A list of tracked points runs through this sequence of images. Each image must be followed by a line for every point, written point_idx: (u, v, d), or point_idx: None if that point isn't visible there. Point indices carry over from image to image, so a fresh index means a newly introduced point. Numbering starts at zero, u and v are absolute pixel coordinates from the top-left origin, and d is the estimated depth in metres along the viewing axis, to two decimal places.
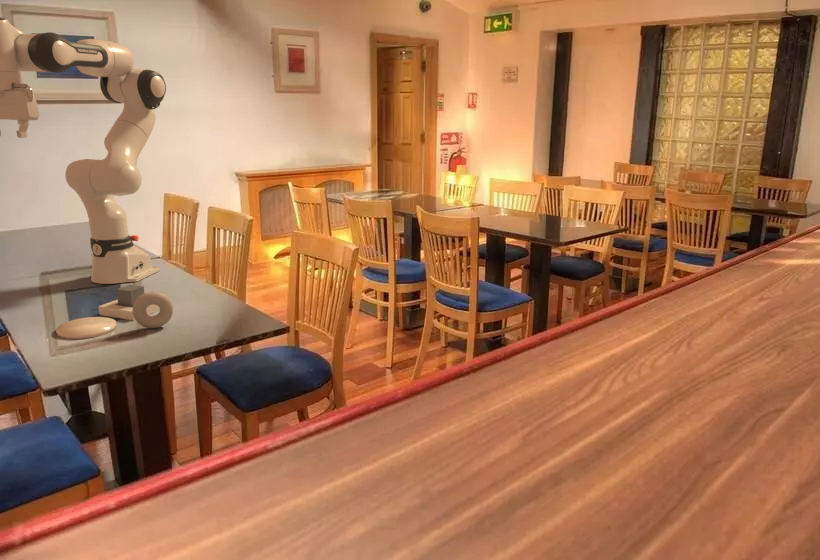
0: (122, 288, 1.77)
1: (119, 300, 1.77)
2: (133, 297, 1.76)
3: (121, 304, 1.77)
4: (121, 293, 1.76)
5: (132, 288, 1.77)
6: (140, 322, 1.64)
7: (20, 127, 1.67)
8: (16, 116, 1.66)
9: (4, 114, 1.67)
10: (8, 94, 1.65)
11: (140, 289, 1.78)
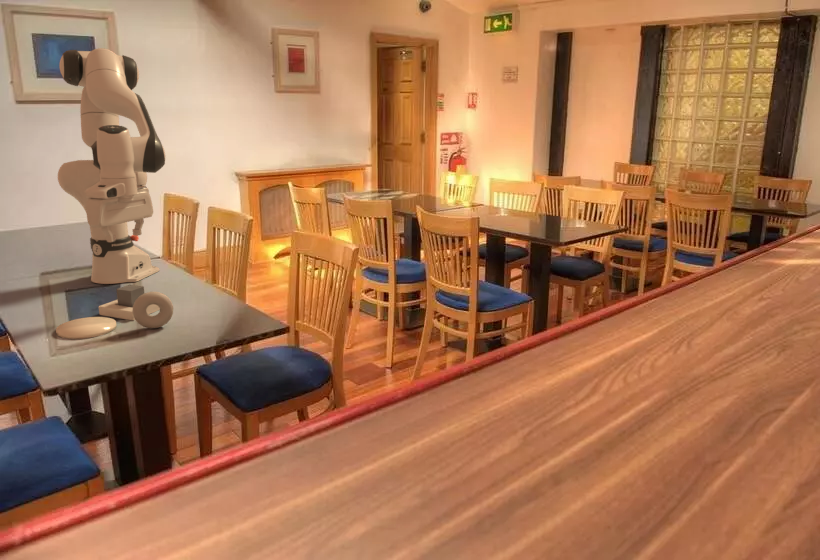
0: (122, 288, 1.77)
1: (119, 300, 1.77)
2: (133, 297, 1.76)
3: (121, 304, 1.77)
4: (121, 293, 1.76)
5: (132, 288, 1.77)
6: (140, 322, 1.64)
7: (141, 225, 1.78)
8: (143, 215, 1.77)
9: (132, 216, 1.74)
10: (137, 196, 1.74)
11: (140, 289, 1.78)
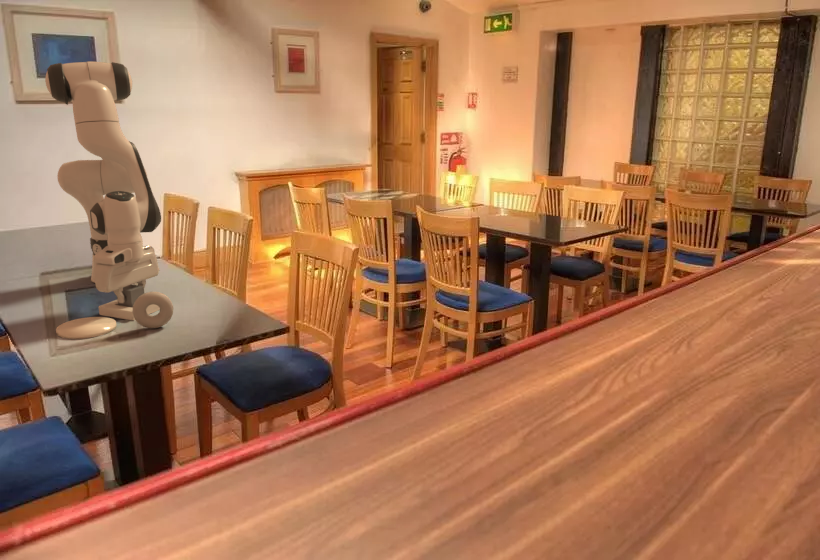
0: None
1: None
2: (133, 296, 1.76)
3: (121, 304, 1.77)
4: None
5: (132, 288, 1.77)
6: (140, 322, 1.64)
7: (144, 286, 1.82)
8: (149, 275, 1.82)
9: (139, 278, 1.78)
10: (143, 258, 1.79)
11: (140, 289, 1.78)
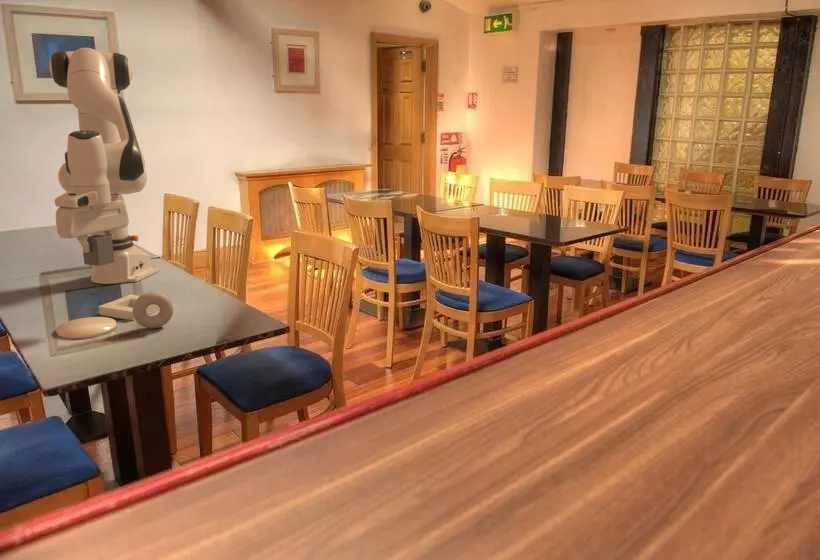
0: (88, 237, 1.64)
1: None
2: (100, 246, 1.63)
3: (87, 254, 1.64)
4: None
5: (99, 237, 1.64)
6: (140, 322, 1.64)
7: (112, 236, 1.68)
8: (118, 225, 1.69)
9: (106, 226, 1.65)
10: (111, 205, 1.66)
11: (107, 238, 1.65)
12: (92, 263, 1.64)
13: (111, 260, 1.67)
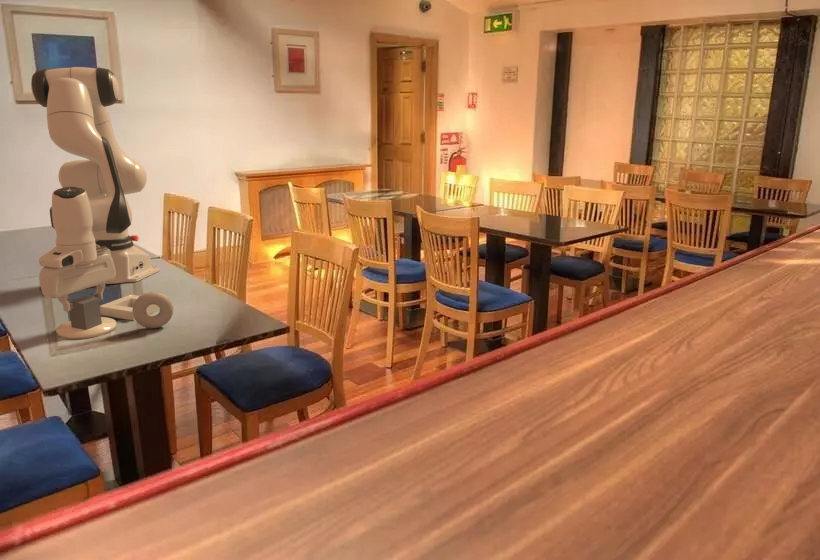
0: (74, 300, 1.63)
1: (71, 313, 1.63)
2: (86, 310, 1.62)
3: (73, 318, 1.63)
4: (73, 306, 1.62)
5: (86, 300, 1.63)
6: (140, 322, 1.64)
7: (103, 289, 1.68)
8: (105, 279, 1.67)
9: (92, 282, 1.63)
10: (97, 260, 1.64)
11: (94, 301, 1.64)
12: (79, 327, 1.63)
13: (98, 322, 1.66)
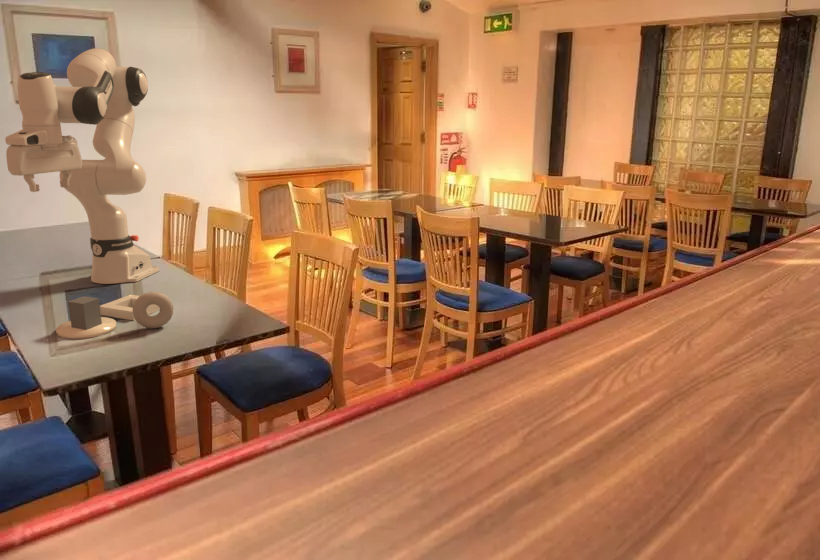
0: (74, 300, 1.63)
1: (71, 313, 1.63)
2: (86, 310, 1.62)
3: (73, 318, 1.63)
4: (73, 306, 1.62)
5: (86, 300, 1.63)
6: (140, 322, 1.64)
7: (69, 177, 1.75)
8: (71, 166, 1.74)
9: (58, 167, 1.71)
10: (63, 146, 1.71)
11: (94, 301, 1.64)
12: (79, 327, 1.63)
13: (98, 322, 1.66)
